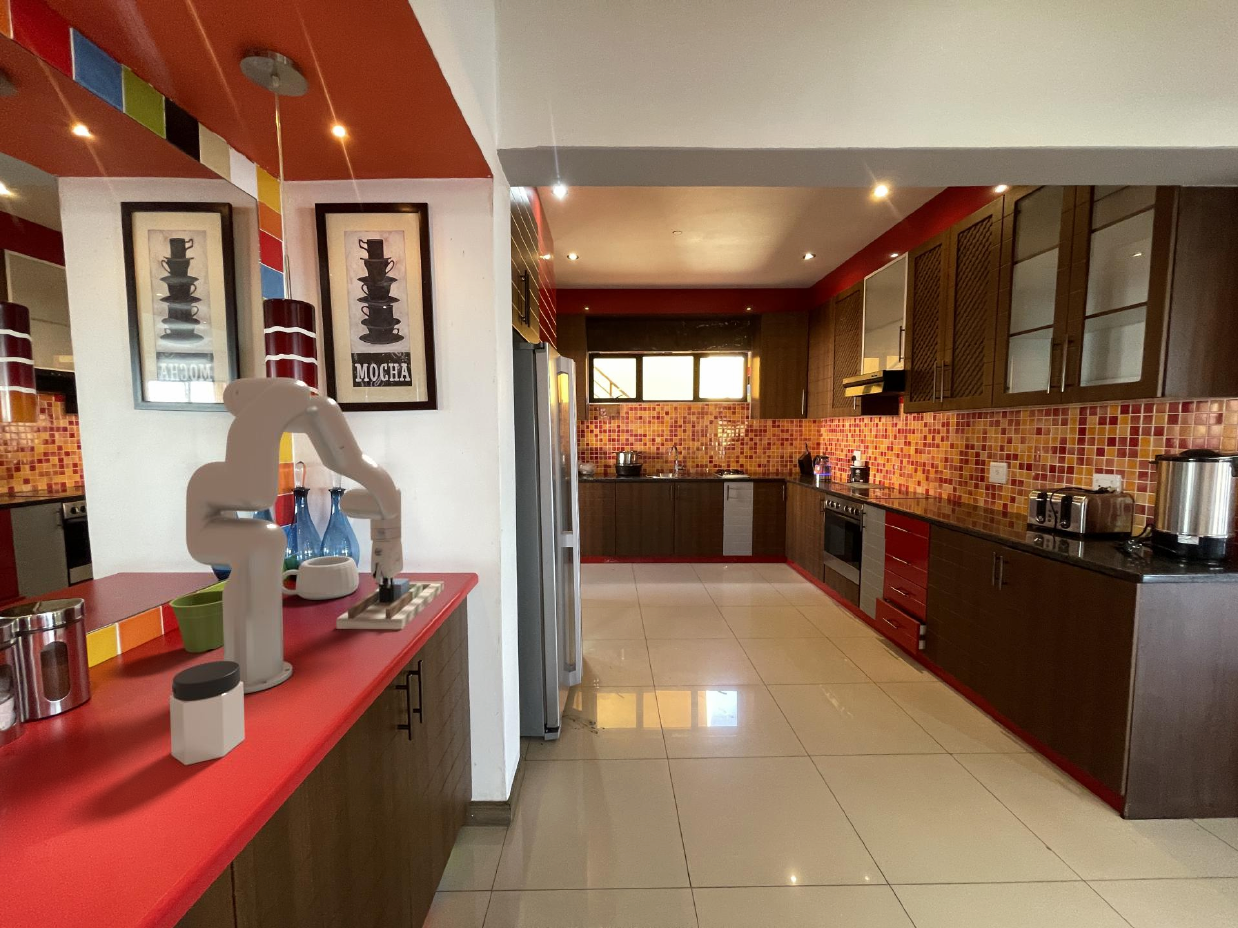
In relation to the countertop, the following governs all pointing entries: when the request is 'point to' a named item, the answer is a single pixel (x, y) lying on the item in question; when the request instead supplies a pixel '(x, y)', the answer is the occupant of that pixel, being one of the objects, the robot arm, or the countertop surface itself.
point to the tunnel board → (390, 608)
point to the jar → (206, 711)
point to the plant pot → (200, 620)
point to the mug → (324, 578)
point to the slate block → (400, 588)
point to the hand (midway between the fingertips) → (386, 601)
